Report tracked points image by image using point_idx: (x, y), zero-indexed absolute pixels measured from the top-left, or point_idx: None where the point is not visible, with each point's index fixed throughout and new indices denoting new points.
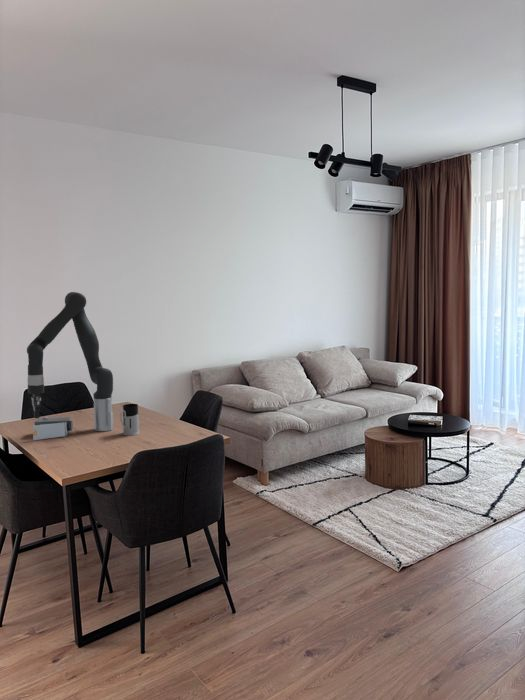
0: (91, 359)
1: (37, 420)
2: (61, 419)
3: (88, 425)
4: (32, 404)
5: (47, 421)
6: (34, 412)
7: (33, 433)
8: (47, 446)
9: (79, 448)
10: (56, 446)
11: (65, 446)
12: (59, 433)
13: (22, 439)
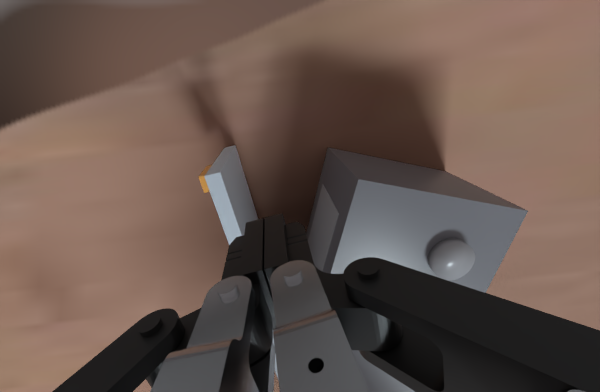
0: None
1: (408, 198)
2: (362, 364)
3: None
4: (306, 338)
5: None
6: (243, 261)
7: (216, 160)
8: (63, 242)
9: (9, 385)
10: (59, 287)
11: (56, 327)
12: None
13: (294, 63)
